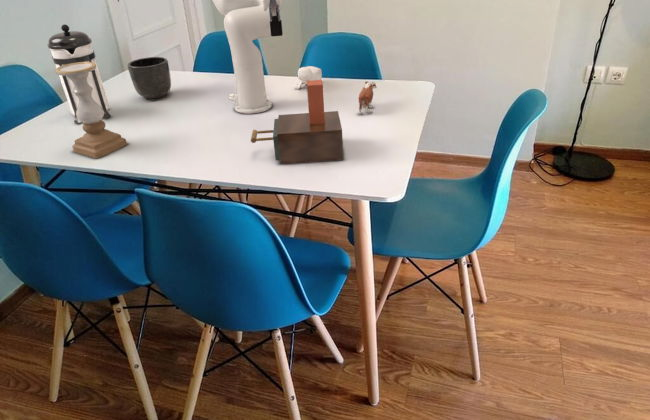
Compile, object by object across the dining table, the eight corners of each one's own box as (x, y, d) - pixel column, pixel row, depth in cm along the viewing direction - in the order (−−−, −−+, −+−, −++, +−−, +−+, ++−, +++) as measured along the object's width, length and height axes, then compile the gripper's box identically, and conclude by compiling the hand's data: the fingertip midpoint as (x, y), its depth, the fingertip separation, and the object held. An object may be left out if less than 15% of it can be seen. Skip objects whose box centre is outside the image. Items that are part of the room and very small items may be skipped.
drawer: (252, 162, 130) (248, 138, 126) (255, 143, 140) (252, 120, 137) (334, 156, 130) (333, 132, 127) (331, 137, 141) (330, 115, 137)
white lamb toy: (302, 90, 191) (291, 87, 177) (303, 67, 190) (291, 63, 175) (323, 90, 189) (314, 88, 175) (324, 67, 188) (315, 63, 173)
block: (309, 124, 130) (306, 85, 124) (309, 119, 133) (306, 80, 128) (324, 123, 130) (322, 84, 124) (324, 118, 133) (322, 79, 128)
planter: (182, 93, 185) (175, 58, 178) (153, 105, 175) (145, 69, 168) (157, 88, 192) (149, 55, 185) (128, 100, 182) (118, 64, 175)
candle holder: (96, 158, 139) (69, 74, 126) (73, 151, 144) (44, 69, 131) (128, 144, 146) (105, 63, 134) (104, 138, 152) (80, 59, 139)
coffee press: (127, 110, 172) (102, 19, 157) (91, 126, 160) (61, 30, 144) (91, 105, 179) (64, 17, 163) (54, 120, 167) (21, 28, 151)
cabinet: (280, 164, 130) (277, 134, 126) (281, 143, 142) (278, 114, 137) (343, 160, 130) (342, 129, 126) (339, 139, 142) (337, 110, 137)
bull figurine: (378, 102, 166) (378, 78, 162) (368, 117, 156) (368, 91, 151) (365, 101, 168) (365, 78, 163) (354, 116, 157) (354, 91, 153)
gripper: (257, -39, 135) (264, 30, 145) (253, -34, 123) (262, 42, 132) (284, -41, 135) (290, 29, 145) (283, -36, 123) (290, 40, 132)
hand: (276, 35), depth 139 cm, fingers closed
